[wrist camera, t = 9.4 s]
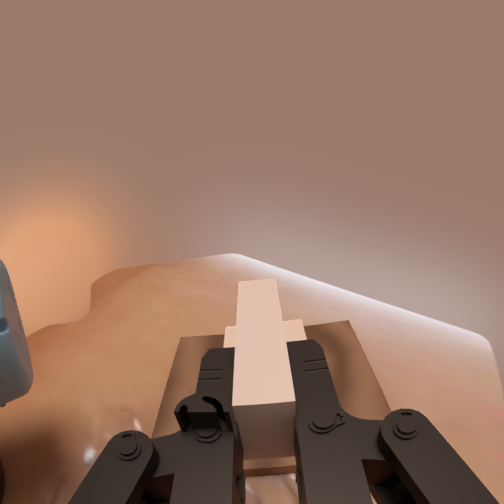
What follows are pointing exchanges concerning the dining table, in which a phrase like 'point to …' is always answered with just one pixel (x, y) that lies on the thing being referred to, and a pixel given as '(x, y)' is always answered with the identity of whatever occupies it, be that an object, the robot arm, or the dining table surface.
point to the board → (341, 369)
